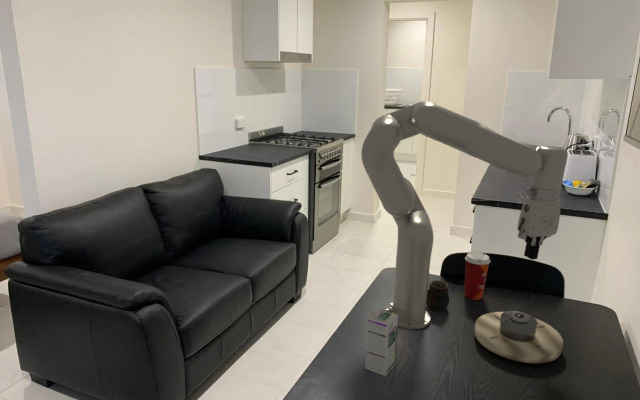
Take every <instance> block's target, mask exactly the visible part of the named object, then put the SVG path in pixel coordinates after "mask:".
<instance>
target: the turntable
mask: <svg viewBox="0 0 640 400" xmlns="http://www.w3.org/2000/svg"><path fill="white" fill-rule="evenodd" d="M503 312H504V311H494V312H489V313H488V312H487V313H485V314H482V315H480V316H479V317H478V318H477V319H476V321H475V323H474V324H475V325H474V336H475V338H476V340H477V341H478V342H479V344H481V345H482V346H483V347H484V348H486V349H487V350H488V351H490V352H492V353H493V354H496V355H497V356H500V357H502V358H504V359H505V358H506V359H507V360H511V361H514V362H515V361H516V362H520V363H525V364H526V363H527V364H544V363H545V364H546V363H549V362H552V361H555V360H556V359H558V358H559V357H560V356H561V354H562V351H563V347H564V339H563V337H562V336H561V334H560V332H558V330H556V329H555V328H553V326H551V325H550V324H548V323H546V322H544V321H542V320H541V319H538V318H536V317H534V318H535V319H536V321H537V328H536V334H535V338H534V339H533V340H532V341H528V342H520V341H515V340H512V339H509V338H507V337H505V336H504V335H502V334H501V332H500V331H499V327H500V320H501V314H502V313H503Z"/></svg>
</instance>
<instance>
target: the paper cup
mask: <svg viewBox="0 0 640 400" xmlns="http://www.w3.org/2000/svg"><path fill="white" fill-rule="evenodd" d="M464 259H465V272H464V273H465V275H464V297H466V298H467V299H470V300H473V301H474V300H475V301H477V300H478V301H479V300H482V299H483V294H484V290H485V285H486V281H487V275H488V274H487V273H488V271H489V270H488V269H489V265H490V263H491V260H490V256H489V255H487V254H486V253H482V252H477V251H473V252H472V251H471V252H468V253H467V254H466V256H465V257H464Z"/></svg>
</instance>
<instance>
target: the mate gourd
mask: <svg viewBox="0 0 640 400" xmlns="http://www.w3.org/2000/svg"><path fill="white" fill-rule="evenodd" d="M448 289H449V285H448V283H447V282H445V281H442V280H436V279H435V280H431V281H429V284H428V292H427V303H426V307H428V308H429V309H431V310H432V311H436V312H440V311H443V310H445V309H447V308H448V305H449V304H450V296H449V290H448Z"/></svg>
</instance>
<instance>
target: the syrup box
mask: <svg viewBox="0 0 640 400" xmlns="http://www.w3.org/2000/svg"><path fill="white" fill-rule="evenodd" d="M386 309H387V308H382V307H381V308H380V307H377V308H376V309H375V310H374V311H372V312H371V314H369V315H368V316H367V317H366V318H367V319H366V337H365V339H366V340H365V341H366V342H365V364H364V365H365V367H364V368H365V369H366V370H368V371H369V372H370V371H371V372H373V373H376V374H378V375H381V376H384V377H387V376H388V374H389V373H390V372H391V371H392V370H393V368H394V367H395V366H396V359H397V358H396V356H397V342H398V314H397V313H395V312H392V311H389V310H386Z"/></svg>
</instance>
